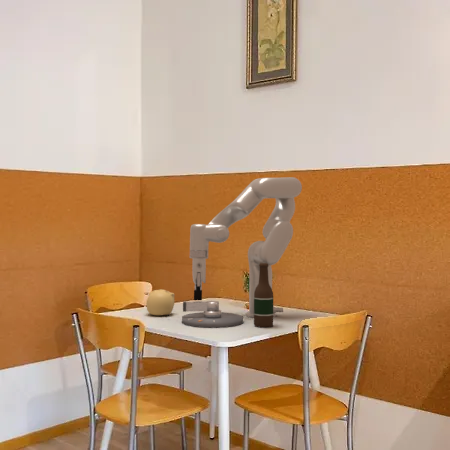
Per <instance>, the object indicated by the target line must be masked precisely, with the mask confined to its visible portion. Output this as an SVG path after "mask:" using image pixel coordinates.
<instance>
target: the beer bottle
mask: <svg viewBox="0 0 450 450" xmlns="http://www.w3.org/2000/svg"><path fill="white" fill-rule="evenodd" d="M259 266H260V272H259V283H258V285H257V287H256V289H255V291H254V318H253V325H254V327H255V328H264V329H265V328H272V327H273V326H274V317H273V306H274V292H273V288H272V289H271V287H270V285H269V281H268V263H260V264H259Z"/></svg>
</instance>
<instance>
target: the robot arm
mask: <svg viewBox="0 0 450 450" xmlns="http://www.w3.org/2000/svg"><path fill="white" fill-rule="evenodd" d="M302 187H303V186H302V183H301V180H299V179H298V178H297V177H294V176H293V177H289V176H287V177H285V176H284V177H259V178H256V179H253V180H252V181H251V182H250V183H249V184H248V185H247V186H246V187H245V188H244V189H243V190H242V192H240V193H239V194H238V196H237V197H236V198H235V199H234V200H233V201H231V202H230V203H229V204H228V205H227V206H226V207H224V208H223V209H222V210H221V211H220V212H218V214H216V215H215V216H214V217H213V218H212V220H210V222H209V223H208V224H205V223H194V224H191V226H190V232H189V233H190V234H189V259H192V261H191V262H192V264H191V265H192V267H191V268H192V282H193V283H194V290H193V300H194V301H203V287H202V285H203V284H206V282H207V281H206V278H207V277H206V275H207V274H206V273H207V272H206V271H207V267H206V266H207V265H206V262H207V261H206V260H207V259H209V246H210V245H209V242H211V243H224V242H226V241H227V240H228V239H229V237H230V231H229V227H231V226H232V225H233V224H235V223H237V222H238V221H241V220H243V219H245V218H246V217H248V216H249V215H250V214H251V213H252V212H253V211H254V209H256V208H257V206H258V205H259V204H260V203H261V202H262V201H263V200H264V199H275V206H274V208H273V209H272V211H271V213H270V214H269V217H268V219H267V220H266V222H265V224H264V225H263V228H262V235H263V237H264V240H257V241H254V242H253V243H251V244H250V246H249V247H248V250H247V259H248V260H247V261H248V271H249V273H248V274H249V276H248V277H249V280H248V281H249V282H248V283H249V284H248V285H249V293H248V294H249V295H248V296H249V297H248V299H249V300H248V301H249V303H248V305H249V306H248V307H249V309H248V310H249V311H248V312H246V313H245V317H248V318H251V319H254V291H255V289H256V287H257V285H258V283H259V272H260V266H259V264H260V263H268V281H269V285H270V287H271V289H272V290H273V270H272V266H273V265H276V264H277V263H278V262H279V261H280V259H281V258H282V256H283V255H284V253H285V251H286V250H287V248H288V246H289V244H290V243H291V240H292V239H293V235H294V227H293V225H292V223H291V220H292V218H293V216H294V214H295V211H296V201H295V198H296V197H298V196H299V195H300V194H301V192H302V189H303V188H302ZM283 312H284V307H278V306H277V307H276V306H274V305H273V318H274V317H275V318H276V316H277V313H283Z"/></svg>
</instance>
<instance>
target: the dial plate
mask: <svg viewBox="0 0 450 450" xmlns="http://www.w3.org/2000/svg"><path fill="white" fill-rule="evenodd" d="M243 323H244V317H243V315H241V314H237V313H232V312H223V311H221V317H218V318H207V317H204V311H199V312H192V313H187V314H184V315H182V316H181V324H183V325H185V326H188V327H193V328H203V329H204V328H205V329H217V328H218V329H219V328H220V329H221V328H232V327H238V326H240V325H242V324H243Z"/></svg>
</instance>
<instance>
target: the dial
mask: <svg viewBox="0 0 450 450" xmlns="http://www.w3.org/2000/svg"><path fill="white" fill-rule="evenodd" d="M182 312H204V317H207V318H218V317H221V312H222V310H221V309H220V302H219V301H218V300H208V301H205V300H204V301H182Z"/></svg>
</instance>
